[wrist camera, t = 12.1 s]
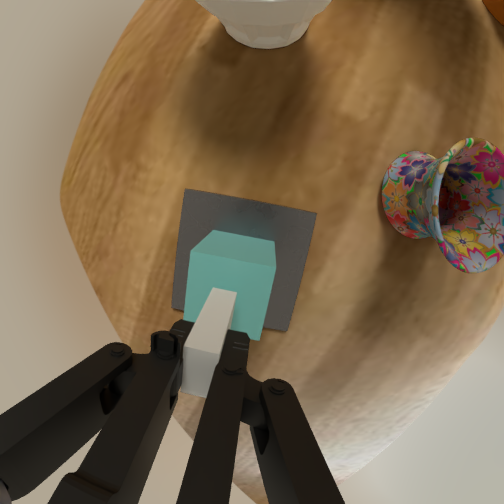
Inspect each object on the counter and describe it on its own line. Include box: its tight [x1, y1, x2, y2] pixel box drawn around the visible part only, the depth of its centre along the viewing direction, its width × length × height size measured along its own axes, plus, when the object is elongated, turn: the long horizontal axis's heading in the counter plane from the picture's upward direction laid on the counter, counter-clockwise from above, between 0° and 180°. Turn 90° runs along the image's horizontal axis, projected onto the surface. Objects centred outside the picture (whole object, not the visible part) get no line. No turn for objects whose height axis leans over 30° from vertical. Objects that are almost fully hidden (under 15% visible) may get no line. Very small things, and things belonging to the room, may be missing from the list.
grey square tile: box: [171, 189, 317, 331], centre depth 23 cm, size 12×12×6 cm
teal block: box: [183, 230, 276, 341], centre depth 22 cm, size 6×6×8 cm
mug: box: [382, 138, 504, 273], centre depth 19 cm, size 12×9×11 cm
